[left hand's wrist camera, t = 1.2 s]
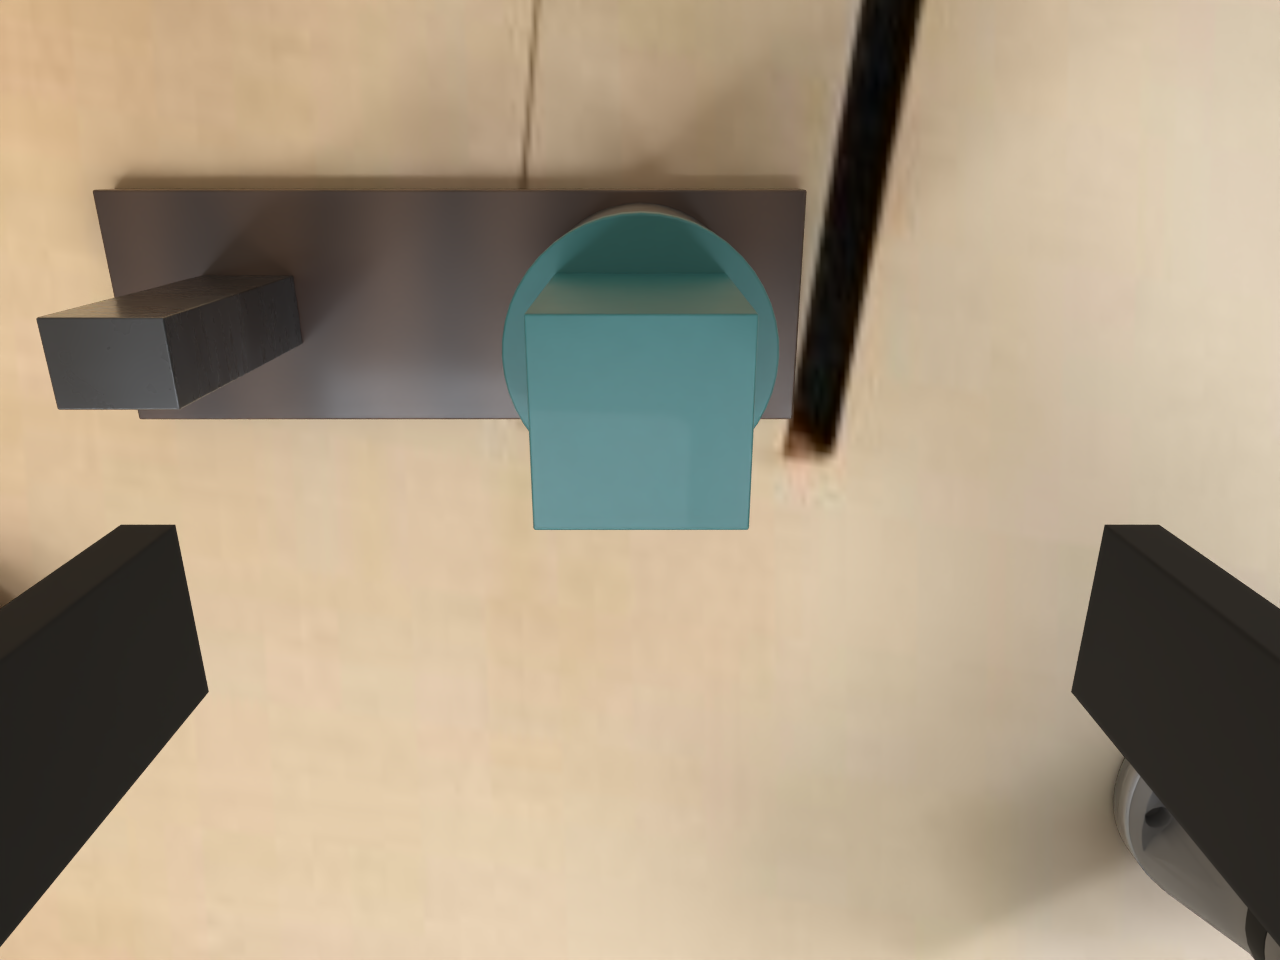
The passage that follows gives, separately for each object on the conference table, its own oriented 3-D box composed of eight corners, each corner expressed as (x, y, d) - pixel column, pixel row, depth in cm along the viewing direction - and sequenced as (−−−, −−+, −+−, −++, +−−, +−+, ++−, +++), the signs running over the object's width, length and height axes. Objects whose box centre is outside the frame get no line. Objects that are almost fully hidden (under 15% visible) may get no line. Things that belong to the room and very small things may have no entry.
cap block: (782, 210, 28) (845, 231, 20) (768, 478, 31) (816, 595, 23) (498, 210, 28) (437, 231, 20) (512, 478, 31) (465, 595, 23)
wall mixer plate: (800, 188, 38) (873, 200, 26) (787, 410, 41) (846, 509, 29) (112, 188, 38) (-127, 200, 26) (156, 410, 41) (-37, 509, 29)
